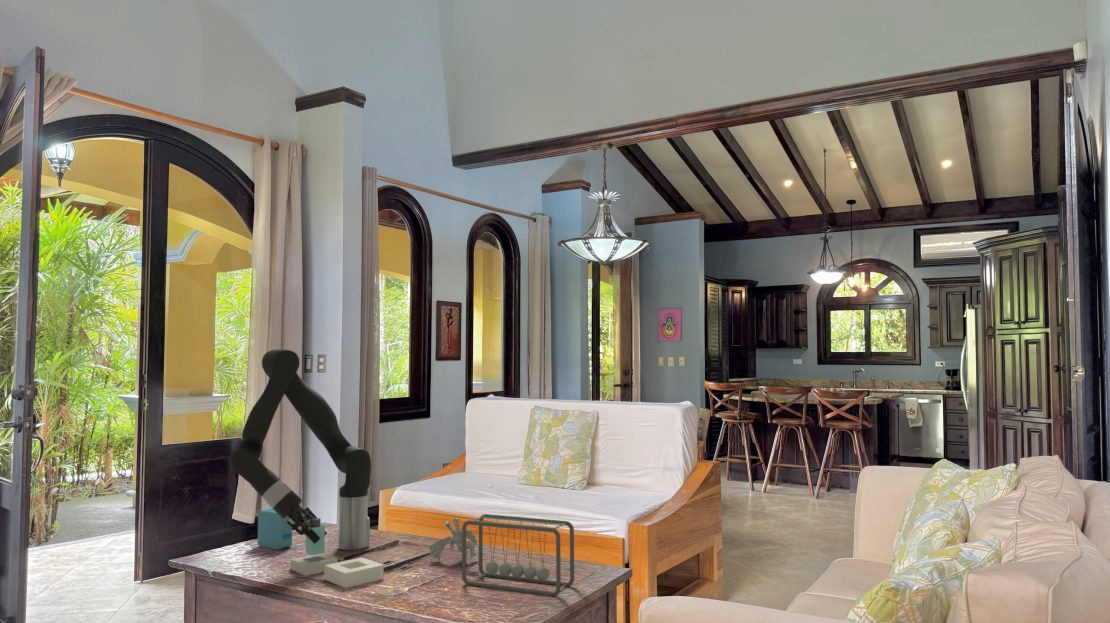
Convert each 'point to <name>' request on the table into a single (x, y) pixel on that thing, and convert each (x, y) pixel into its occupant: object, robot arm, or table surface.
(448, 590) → the table surface
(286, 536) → the data package
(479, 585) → the newton's cradle
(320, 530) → the plug
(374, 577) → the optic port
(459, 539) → the fairy figurine
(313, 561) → the holster
